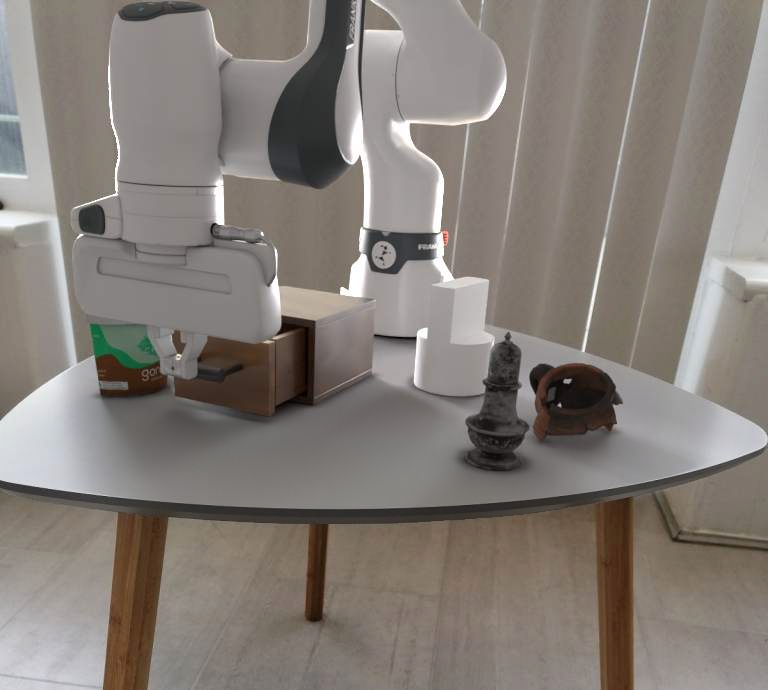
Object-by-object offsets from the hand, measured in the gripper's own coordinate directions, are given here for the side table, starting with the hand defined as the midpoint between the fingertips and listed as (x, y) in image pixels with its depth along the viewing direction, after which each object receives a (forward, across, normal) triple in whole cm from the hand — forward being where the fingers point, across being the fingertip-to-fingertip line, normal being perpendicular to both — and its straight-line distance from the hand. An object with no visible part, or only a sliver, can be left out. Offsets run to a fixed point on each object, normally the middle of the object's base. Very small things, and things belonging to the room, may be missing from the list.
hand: (179, 375), depth 77 cm
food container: (+6, +12, -10) cm, 17 cm away
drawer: (+5, 0, -11) cm, 12 cm away
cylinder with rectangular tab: (+6, -16, -31) cm, 35 cm away
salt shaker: (+6, -28, -10) cm, 30 cm away
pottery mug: (+6, -32, -22) cm, 39 cm away
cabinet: (+6, 0, -22) cm, 22 cm away
